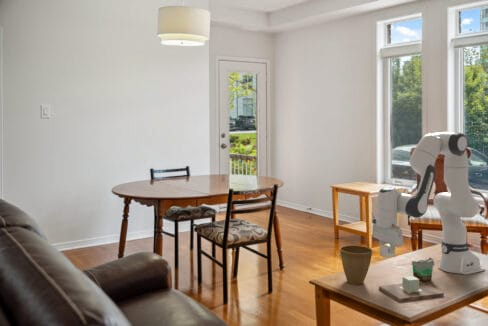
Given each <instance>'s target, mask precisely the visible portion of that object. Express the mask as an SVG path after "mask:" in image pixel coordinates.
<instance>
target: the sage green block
mask: <svg viewBox="0 0 488 326" xmlns="http://www.w3.org/2000/svg"><path fill="white" fill-rule="evenodd" d="M402 283H403V285H402V288H404V289H406V290H407V291H409V292H410V291H418V290H419V279H418V278H416V277H414V276H413V275H409V276H402Z"/></svg>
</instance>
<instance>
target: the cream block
mask: <svg viewBox="0 0 488 326" xmlns="http://www.w3.org/2000/svg"><path fill="white" fill-rule="evenodd" d="M389 249H390V244H388V243H385V244H382V245H380V244H379V256H381V257H382V258H385V259H389V258H396V248H395V249H394V253H393V254H390V253H389Z"/></svg>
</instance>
